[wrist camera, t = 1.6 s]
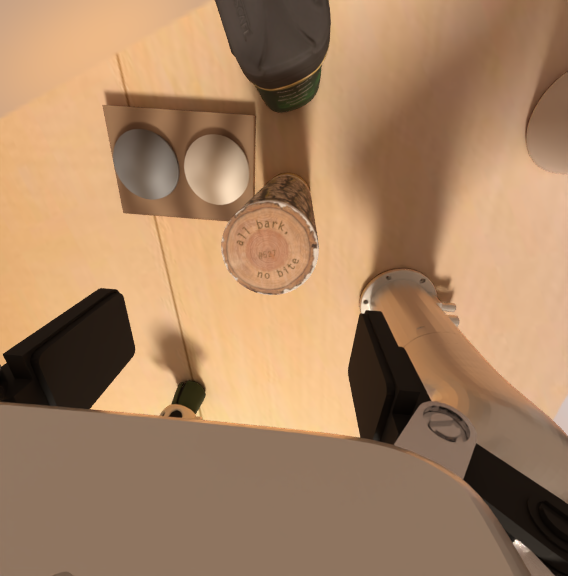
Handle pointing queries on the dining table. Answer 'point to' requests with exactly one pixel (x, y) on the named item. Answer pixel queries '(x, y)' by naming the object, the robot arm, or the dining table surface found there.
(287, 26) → the coffee jar
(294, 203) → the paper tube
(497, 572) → the robot arm
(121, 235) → the dining table surface
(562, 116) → the cylinder vase
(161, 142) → the board
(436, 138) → the dining table surface
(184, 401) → the character mug
